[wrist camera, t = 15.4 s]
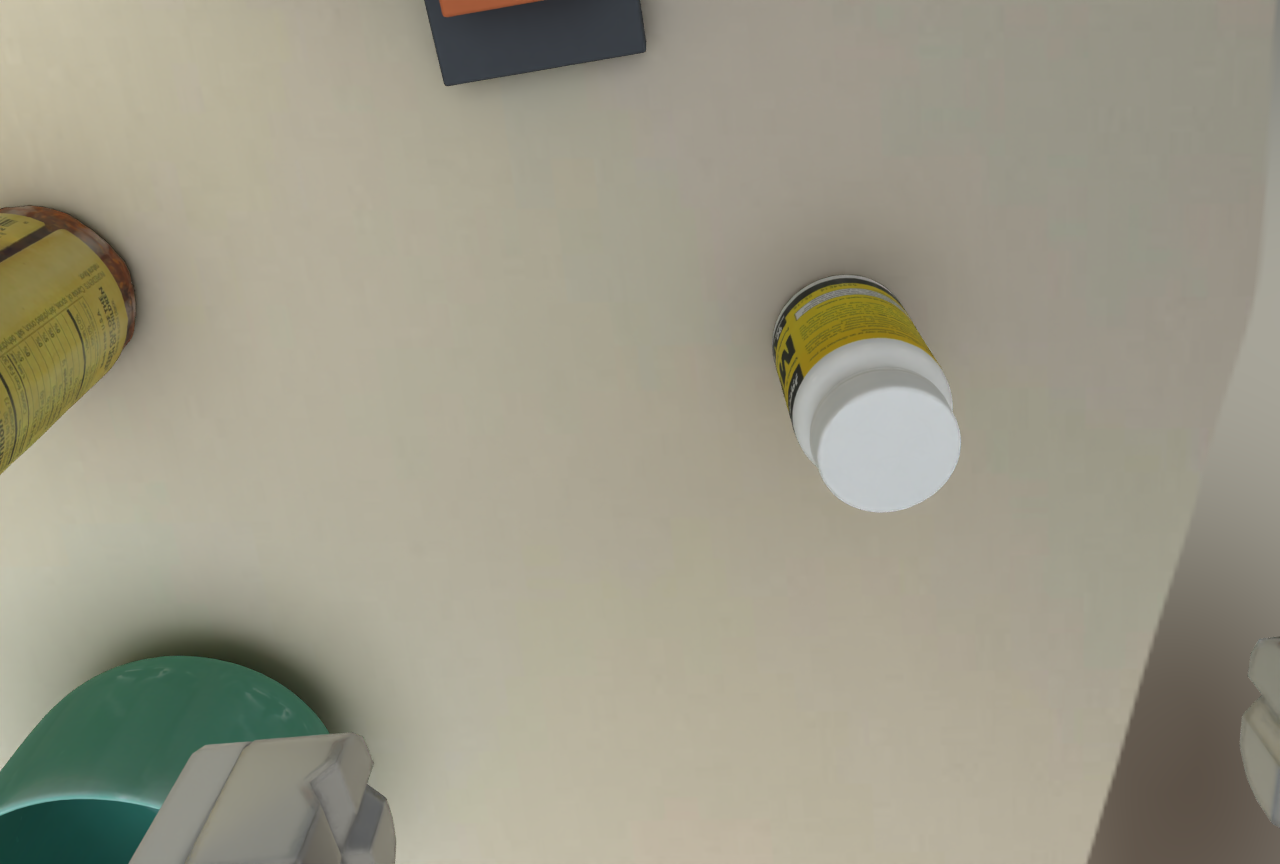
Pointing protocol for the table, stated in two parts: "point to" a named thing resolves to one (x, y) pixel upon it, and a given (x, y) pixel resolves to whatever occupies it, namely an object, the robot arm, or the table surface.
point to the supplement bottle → (865, 394)
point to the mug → (130, 753)
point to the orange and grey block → (530, 35)
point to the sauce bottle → (55, 319)
